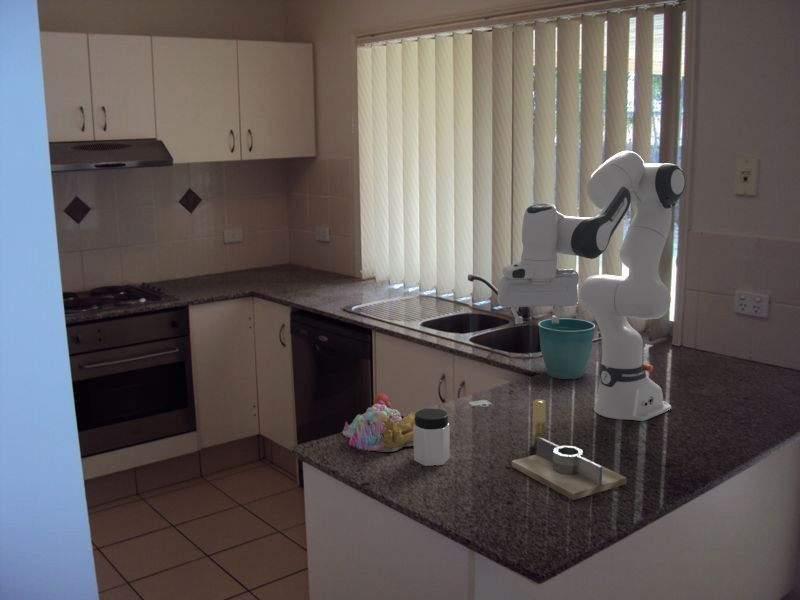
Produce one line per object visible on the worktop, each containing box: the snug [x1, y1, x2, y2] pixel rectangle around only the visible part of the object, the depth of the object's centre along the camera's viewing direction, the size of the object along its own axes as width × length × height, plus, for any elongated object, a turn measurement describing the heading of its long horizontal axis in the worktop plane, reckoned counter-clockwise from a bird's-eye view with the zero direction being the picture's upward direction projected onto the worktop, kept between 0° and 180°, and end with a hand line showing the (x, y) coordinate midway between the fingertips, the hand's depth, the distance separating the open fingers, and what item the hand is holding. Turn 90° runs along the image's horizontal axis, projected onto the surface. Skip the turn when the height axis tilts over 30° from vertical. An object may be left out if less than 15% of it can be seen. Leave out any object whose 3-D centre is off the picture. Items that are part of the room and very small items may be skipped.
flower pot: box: [537, 317, 596, 380], centre depth 279 cm, size 18×18×17 cm
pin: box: [531, 398, 547, 449], centre depth 219 cm, size 3×3×12 cm
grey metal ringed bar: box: [536, 436, 602, 486], centre depth 201 cm, size 7×22×4 cm, turn 30°
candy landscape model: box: [342, 393, 416, 453], centre depth 229 cm, size 25×24×9 cm
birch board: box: [511, 453, 628, 501], centre depth 202 cm, size 16×22×2 cm
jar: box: [413, 408, 451, 467], centre depth 211 cm, size 9×8×12 cm
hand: (537, 323), depth 217 cm, fingers open, 8 cm apart
